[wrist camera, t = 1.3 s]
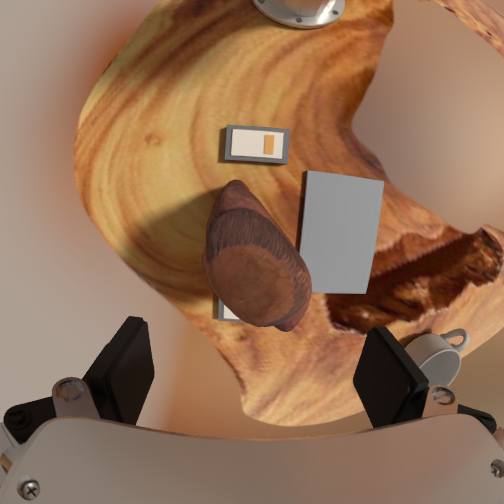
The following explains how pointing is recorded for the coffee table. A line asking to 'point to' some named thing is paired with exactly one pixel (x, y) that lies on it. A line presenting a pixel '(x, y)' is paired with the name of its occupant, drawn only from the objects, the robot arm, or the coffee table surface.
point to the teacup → (438, 356)
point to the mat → (339, 230)
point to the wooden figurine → (254, 262)
